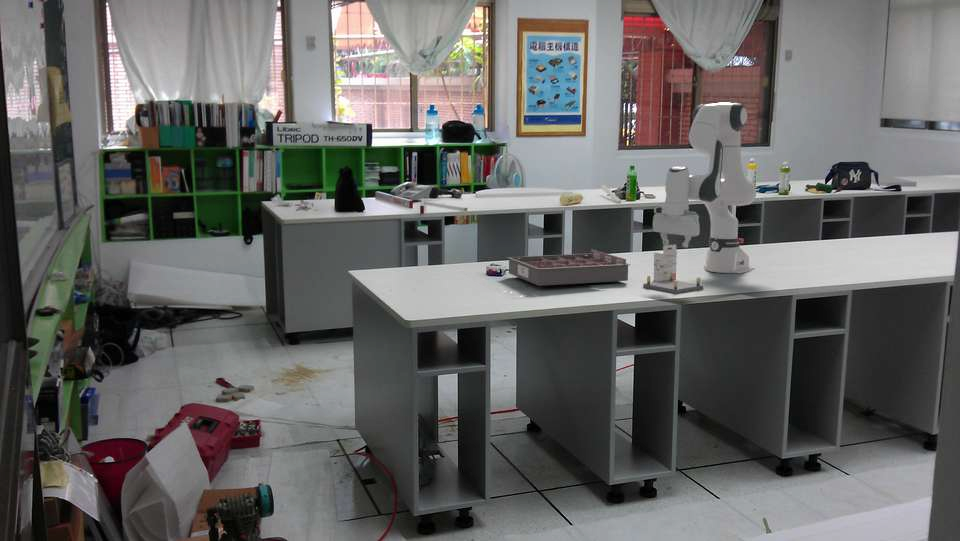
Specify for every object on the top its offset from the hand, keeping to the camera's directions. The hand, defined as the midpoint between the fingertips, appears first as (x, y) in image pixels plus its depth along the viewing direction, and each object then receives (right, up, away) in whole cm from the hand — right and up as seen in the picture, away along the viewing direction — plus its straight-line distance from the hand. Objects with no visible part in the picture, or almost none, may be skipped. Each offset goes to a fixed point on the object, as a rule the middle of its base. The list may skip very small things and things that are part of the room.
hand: (675, 245), depth 340 cm
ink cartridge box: (0, -14, +20) cm, 24 cm away
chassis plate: (0, -16, +2) cm, 16 cm away
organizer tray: (-39, -14, +20) cm, 46 cm away
